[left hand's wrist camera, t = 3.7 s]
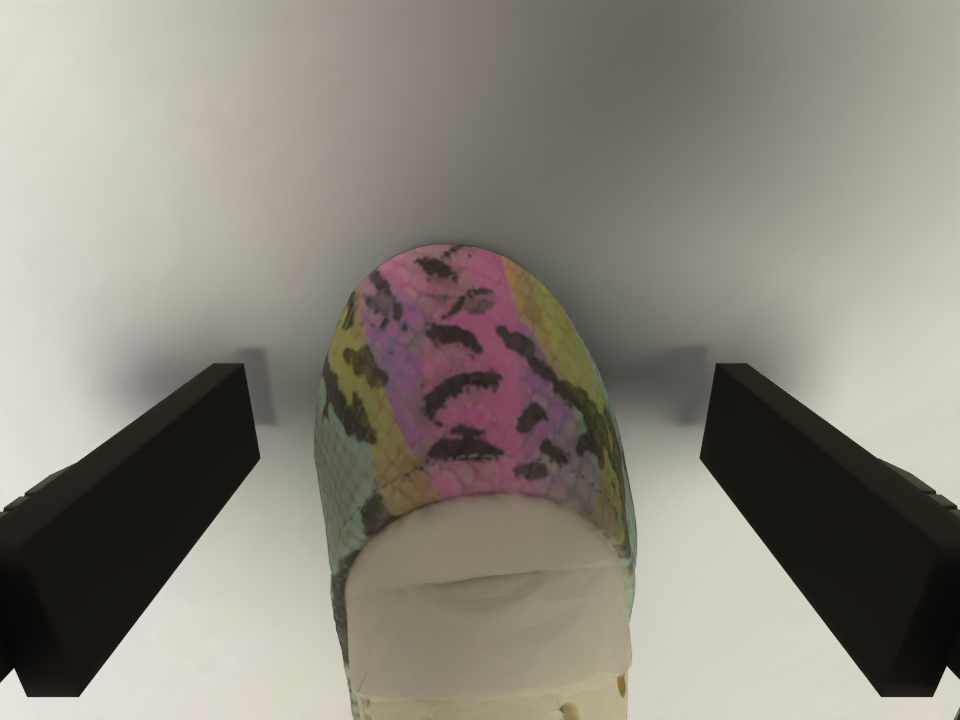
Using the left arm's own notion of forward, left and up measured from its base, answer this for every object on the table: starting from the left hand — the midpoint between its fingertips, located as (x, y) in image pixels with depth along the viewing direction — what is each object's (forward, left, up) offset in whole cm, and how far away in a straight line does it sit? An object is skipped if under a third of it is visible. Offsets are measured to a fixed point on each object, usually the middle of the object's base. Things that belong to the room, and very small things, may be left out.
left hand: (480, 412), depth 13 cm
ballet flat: (+8, +2, -2) cm, 8 cm away
